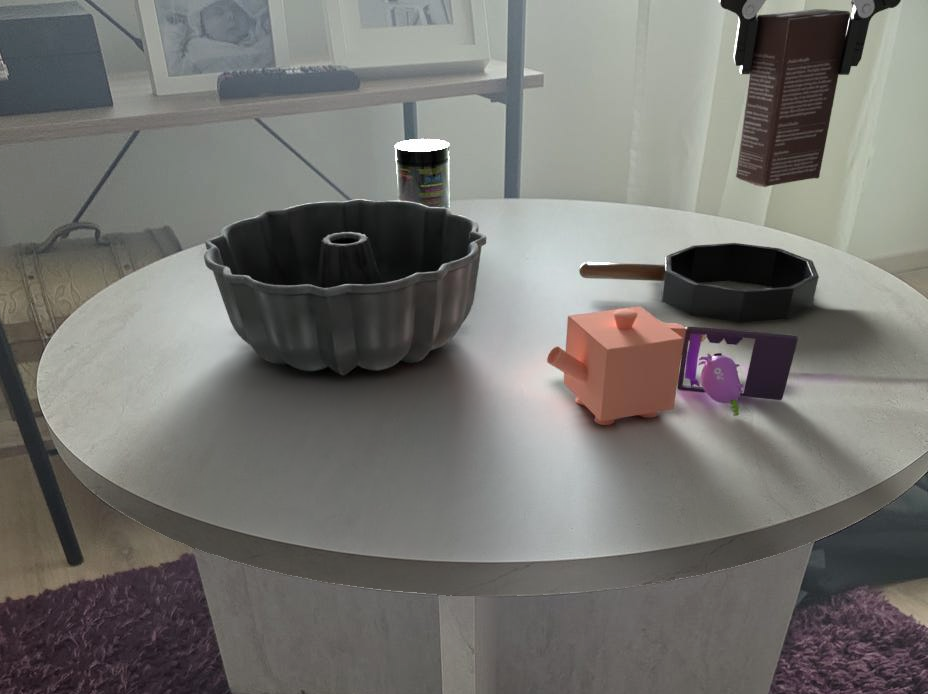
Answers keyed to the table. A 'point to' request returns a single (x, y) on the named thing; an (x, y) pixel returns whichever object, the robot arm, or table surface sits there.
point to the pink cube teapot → (621, 362)
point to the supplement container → (423, 172)
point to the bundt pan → (347, 281)
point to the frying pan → (723, 263)
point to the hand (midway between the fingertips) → (793, 72)
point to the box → (790, 95)
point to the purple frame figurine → (721, 371)
